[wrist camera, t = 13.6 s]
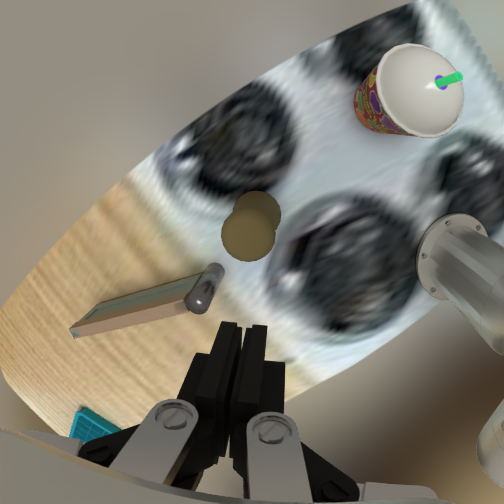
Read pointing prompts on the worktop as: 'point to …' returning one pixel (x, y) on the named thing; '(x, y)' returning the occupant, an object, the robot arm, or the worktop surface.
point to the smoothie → (411, 93)
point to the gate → (137, 308)
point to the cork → (251, 226)
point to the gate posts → (205, 289)
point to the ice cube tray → (90, 426)
